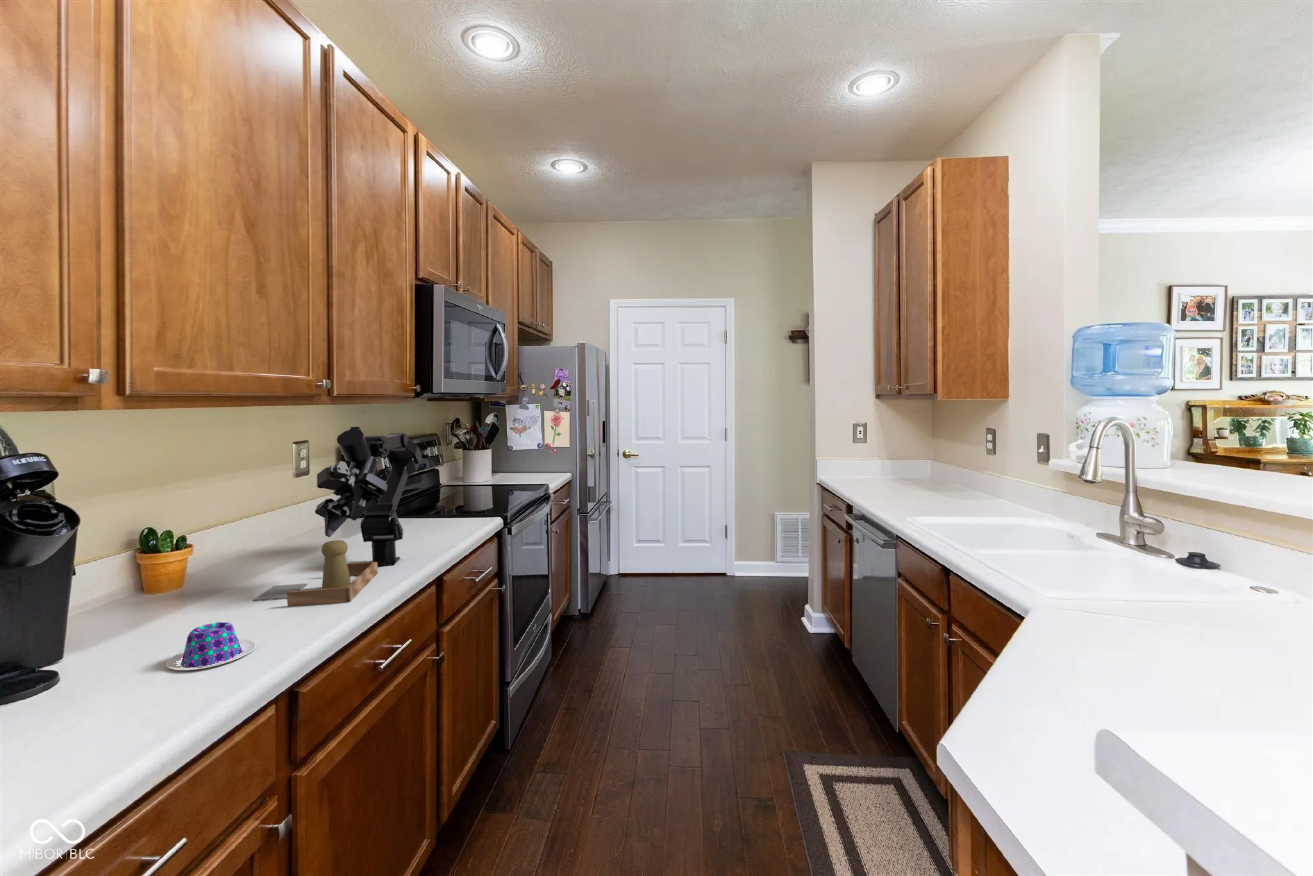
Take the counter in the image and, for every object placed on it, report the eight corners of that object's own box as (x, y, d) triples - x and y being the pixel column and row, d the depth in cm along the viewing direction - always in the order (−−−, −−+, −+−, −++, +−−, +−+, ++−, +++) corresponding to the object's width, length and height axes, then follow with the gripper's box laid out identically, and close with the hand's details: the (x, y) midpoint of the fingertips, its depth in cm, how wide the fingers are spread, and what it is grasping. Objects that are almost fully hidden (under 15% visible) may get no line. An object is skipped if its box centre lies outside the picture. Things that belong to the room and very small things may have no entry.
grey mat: (274, 586, 136) (273, 585, 136) (307, 584, 137) (307, 583, 137) (253, 601, 126) (253, 599, 126) (288, 598, 128) (288, 597, 128)
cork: (357, 584, 137) (354, 538, 136) (340, 593, 131) (338, 544, 130) (332, 584, 137) (330, 538, 137) (315, 592, 131) (312, 544, 131)
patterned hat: (243, 638, 107) (241, 609, 106) (266, 655, 99) (265, 624, 99) (158, 661, 97) (155, 630, 97) (177, 682, 90) (175, 648, 90)
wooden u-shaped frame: (325, 576, 144) (324, 564, 143) (377, 573, 146) (377, 561, 146) (287, 606, 122) (286, 592, 122) (349, 602, 125) (349, 588, 124)
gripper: (305, 475, 140) (280, 528, 129) (354, 439, 133) (332, 492, 122) (347, 498, 147) (327, 550, 136) (396, 465, 140) (378, 517, 129)
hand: (340, 527), depth 131 cm, fingers open, 9 cm apart
